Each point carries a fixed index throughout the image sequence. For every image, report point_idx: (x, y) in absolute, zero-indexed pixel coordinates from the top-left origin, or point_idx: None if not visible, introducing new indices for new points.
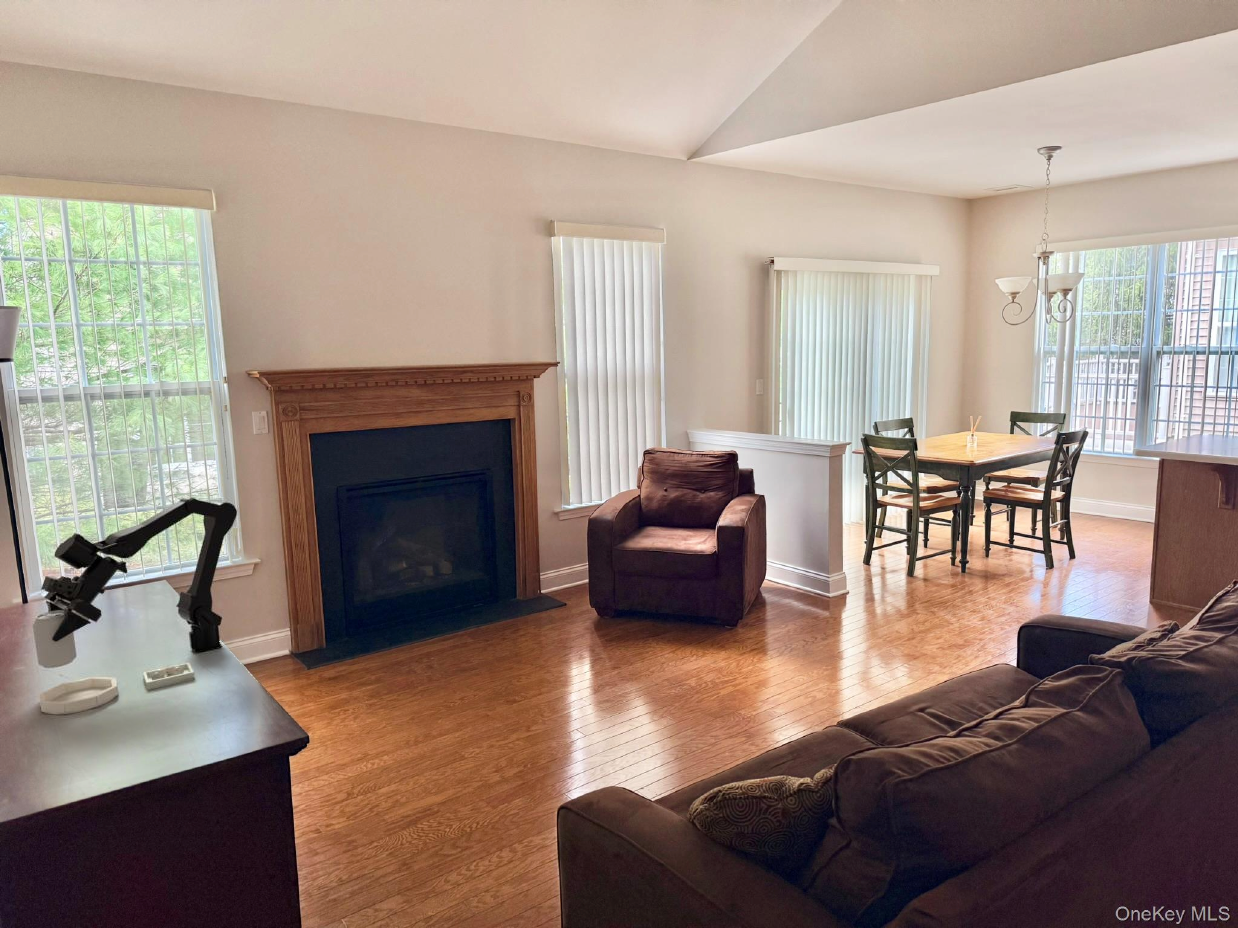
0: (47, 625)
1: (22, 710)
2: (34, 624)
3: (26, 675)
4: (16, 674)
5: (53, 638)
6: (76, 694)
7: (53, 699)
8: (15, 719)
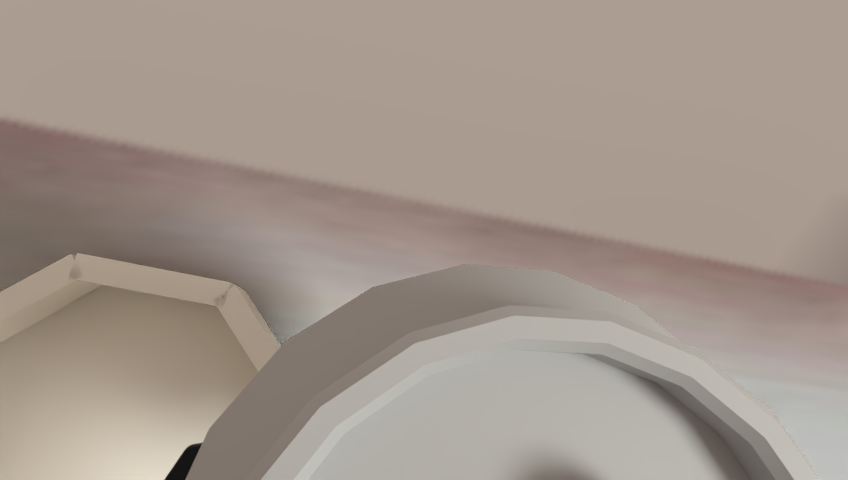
0: (198, 462)
1: (249, 212)
2: (448, 279)
3: (740, 323)
4: (783, 294)
5: (180, 461)
6: None
7: (234, 341)
8: (148, 166)
